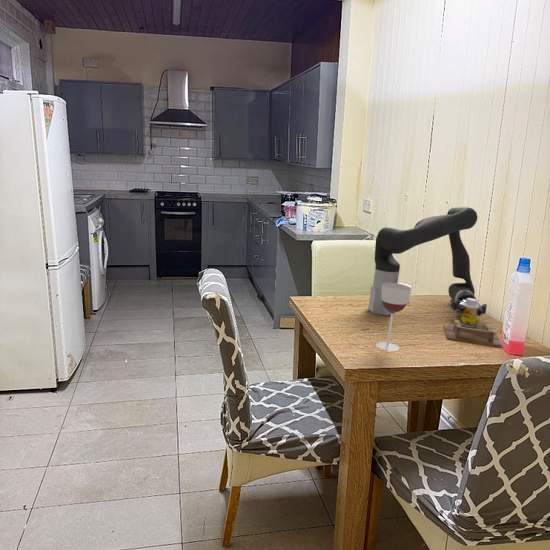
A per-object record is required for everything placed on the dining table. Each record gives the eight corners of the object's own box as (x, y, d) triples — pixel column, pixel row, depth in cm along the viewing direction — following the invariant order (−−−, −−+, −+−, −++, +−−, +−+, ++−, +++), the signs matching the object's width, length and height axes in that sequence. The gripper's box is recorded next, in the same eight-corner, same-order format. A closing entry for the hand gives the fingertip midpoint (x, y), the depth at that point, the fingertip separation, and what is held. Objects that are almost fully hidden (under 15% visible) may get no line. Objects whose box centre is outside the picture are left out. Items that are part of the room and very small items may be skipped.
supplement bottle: (456, 323, 193) (461, 297, 191) (467, 322, 196) (471, 296, 193) (467, 328, 188) (472, 301, 186) (478, 327, 191) (483, 301, 188)
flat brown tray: (443, 327, 187) (445, 316, 187) (495, 334, 184) (497, 323, 183) (446, 339, 174) (448, 327, 173) (502, 347, 170) (504, 335, 169)
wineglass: (395, 353, 156) (404, 291, 152) (369, 345, 161) (377, 284, 157) (405, 347, 163) (414, 287, 158) (380, 339, 168) (388, 281, 163)
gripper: (448, 289, 205) (452, 299, 189) (486, 294, 202) (493, 305, 186) (445, 306, 207) (449, 318, 191) (483, 312, 203) (489, 324, 187)
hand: (471, 311), depth 188 cm, fingers closed on supplement bottle, 5 cm apart
